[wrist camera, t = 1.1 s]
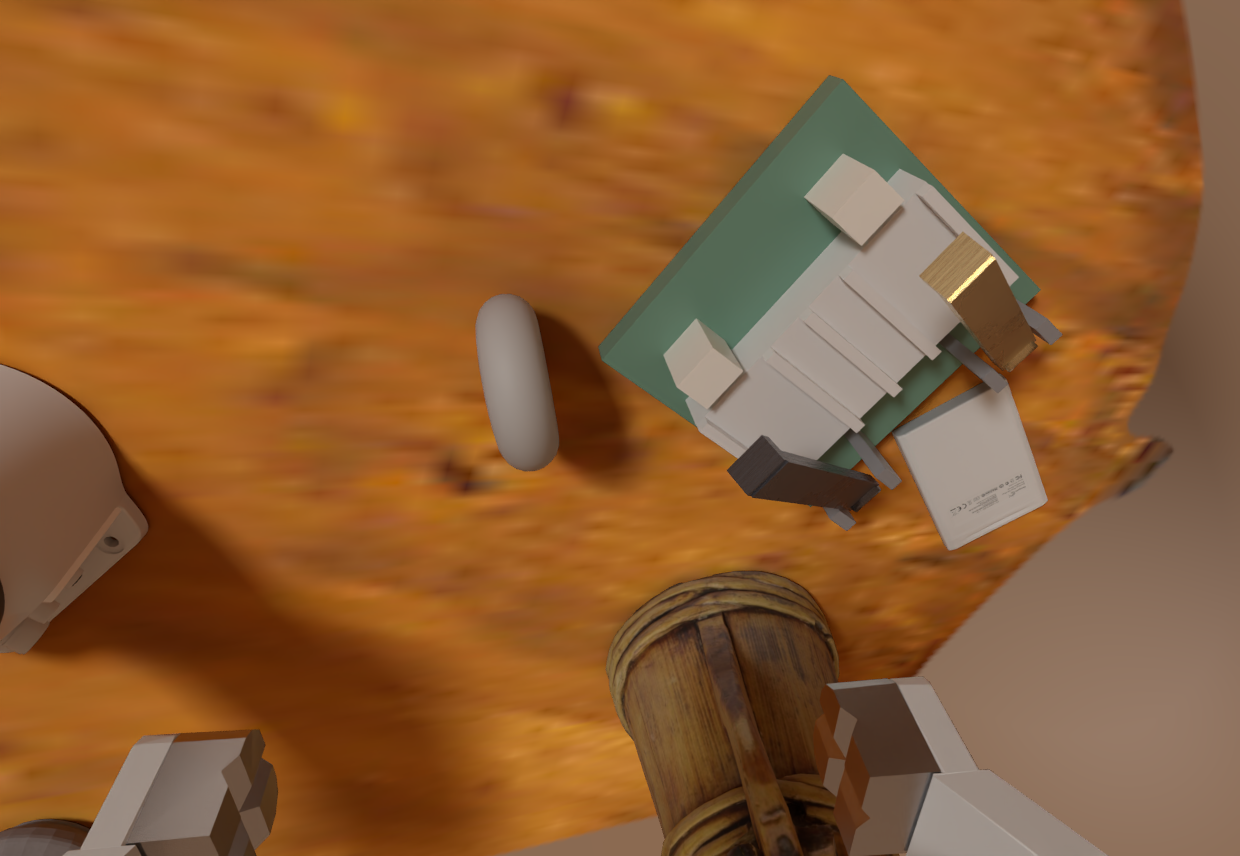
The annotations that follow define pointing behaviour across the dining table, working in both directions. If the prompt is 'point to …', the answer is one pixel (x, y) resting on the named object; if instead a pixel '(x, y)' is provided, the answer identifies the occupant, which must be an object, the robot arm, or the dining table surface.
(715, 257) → the board
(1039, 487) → the external hard drive
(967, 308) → the strap brass
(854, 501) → the dark grey long bar
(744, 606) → the tankard
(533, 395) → the donut
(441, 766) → the dining table surface
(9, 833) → the coffee pot
